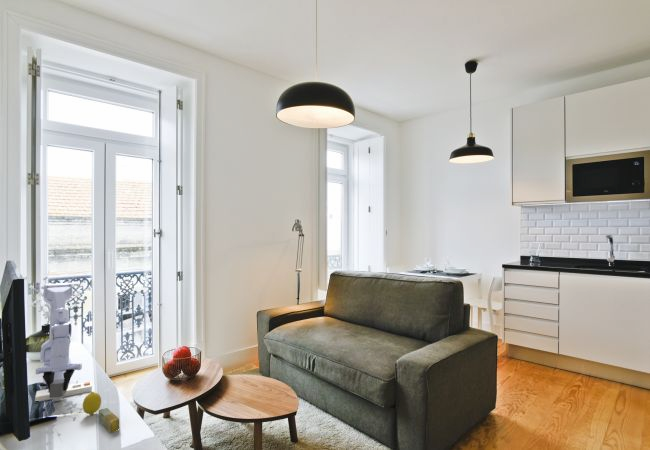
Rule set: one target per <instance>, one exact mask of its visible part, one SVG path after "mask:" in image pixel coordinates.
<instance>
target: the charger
mask: <svg viewBox="0 0 650 450" xmlns="http://www.w3.org/2000/svg"><path fill="white" fill-rule="evenodd" d="M66 392H67V390H66V391H64V379H61V380H55V381H53V382H52V383H51V384H50V395H49V398H53V399H52V400H53V401H52V402H59V401H61V400H62V399H63V397H62V396H63V395H64V394H65V393H66Z"/></svg>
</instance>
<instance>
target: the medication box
mask: <svg viewBox="0 0 650 450" xmlns="http://www.w3.org/2000/svg"><path fill="white" fill-rule="evenodd" d="M98 422H100V423H101V424H102V425H103V426H104V427H105V428H106V429H107V430H108V432H110V434H111V433H114V431H115V432H117V431H116V430H118V429H119V430H120V418H119V417H118V416H117V415H115V413H113V412H112V411H111V410H110V409H109V408H108V407H103V408H101V409H98ZM119 430H118V431H119Z"/></svg>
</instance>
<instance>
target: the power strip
mask: <svg viewBox="0 0 650 450" xmlns="http://www.w3.org/2000/svg"><path fill="white" fill-rule="evenodd" d="M92 390H93V389H92V381H91V380H88V381H84V382H78V383H72V384H68V389H67V392H66V393H65V394H64V395H63V396H62V398H64V397H68V396H73V395H74V396H75V395H78V394H83V393H84V394H86V393H88V392H89V393H91V392H92ZM49 395H50V392H49V389H48V388H47V389H39V390H37V391H36V392H35V397H34V402H35V401H39V402H44V401H48V400H53V398H49Z"/></svg>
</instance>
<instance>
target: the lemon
mask: <svg viewBox="0 0 650 450" xmlns="http://www.w3.org/2000/svg"><path fill="white" fill-rule="evenodd" d="M101 404H102V398H101V395H100V394H99V393H98V392H95V391H90V392H89V393H88V394H87V395H85V397H84V399H83V402H82V410H83V412H84V413H86V415H91V416H93V415H94V414H95V413H96V412H99V410H100V408H101Z"/></svg>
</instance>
